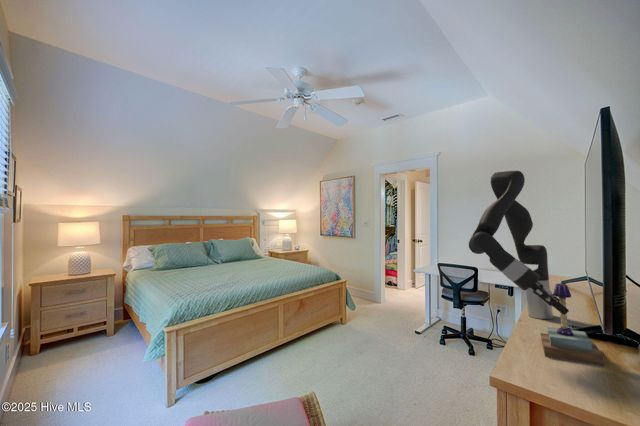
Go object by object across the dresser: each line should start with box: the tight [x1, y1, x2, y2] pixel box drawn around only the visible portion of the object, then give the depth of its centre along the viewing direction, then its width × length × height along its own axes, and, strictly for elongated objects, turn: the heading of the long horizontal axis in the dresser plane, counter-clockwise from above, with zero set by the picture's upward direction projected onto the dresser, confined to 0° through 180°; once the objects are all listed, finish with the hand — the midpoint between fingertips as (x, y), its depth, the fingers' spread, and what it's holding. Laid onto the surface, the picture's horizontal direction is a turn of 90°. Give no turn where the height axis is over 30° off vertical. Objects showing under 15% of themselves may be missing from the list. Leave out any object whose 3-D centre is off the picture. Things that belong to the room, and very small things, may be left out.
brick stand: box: [540, 327, 605, 367], centre depth 93 cm, size 14×14×6 cm
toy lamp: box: [552, 283, 574, 336], centre depth 94 cm, size 5×5×17 cm
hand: (564, 309), depth 94 cm, fingers open, 8 cm apart
